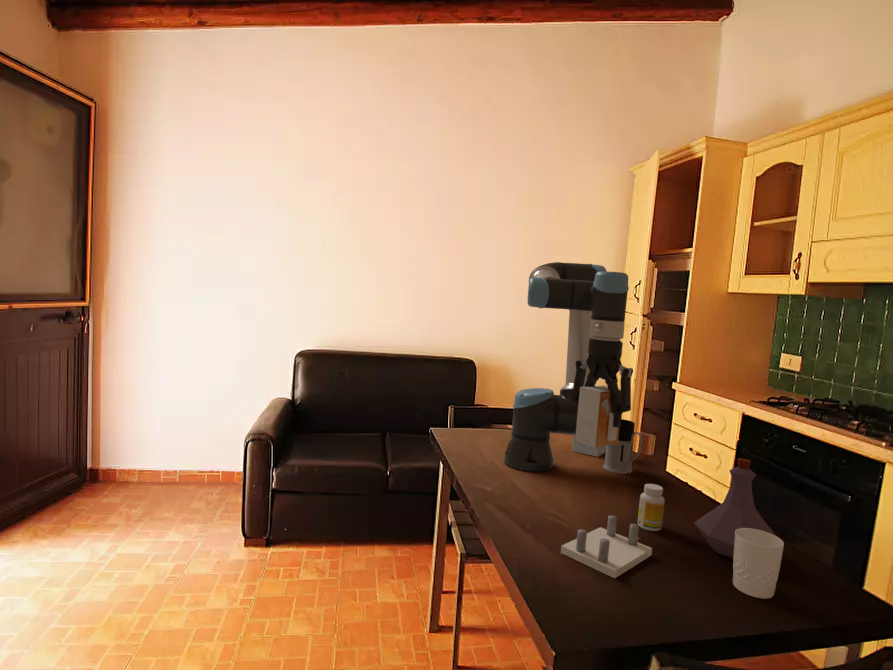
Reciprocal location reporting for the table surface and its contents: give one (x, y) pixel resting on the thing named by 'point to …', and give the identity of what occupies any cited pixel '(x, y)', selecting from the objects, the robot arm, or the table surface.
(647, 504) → the supplement bottle
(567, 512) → the table surface
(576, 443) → the supplement box
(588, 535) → the pin tray
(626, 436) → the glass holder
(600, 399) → the small box
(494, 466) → the table surface
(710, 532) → the flask
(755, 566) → the white cup
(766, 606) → the table surface
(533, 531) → the table surface
